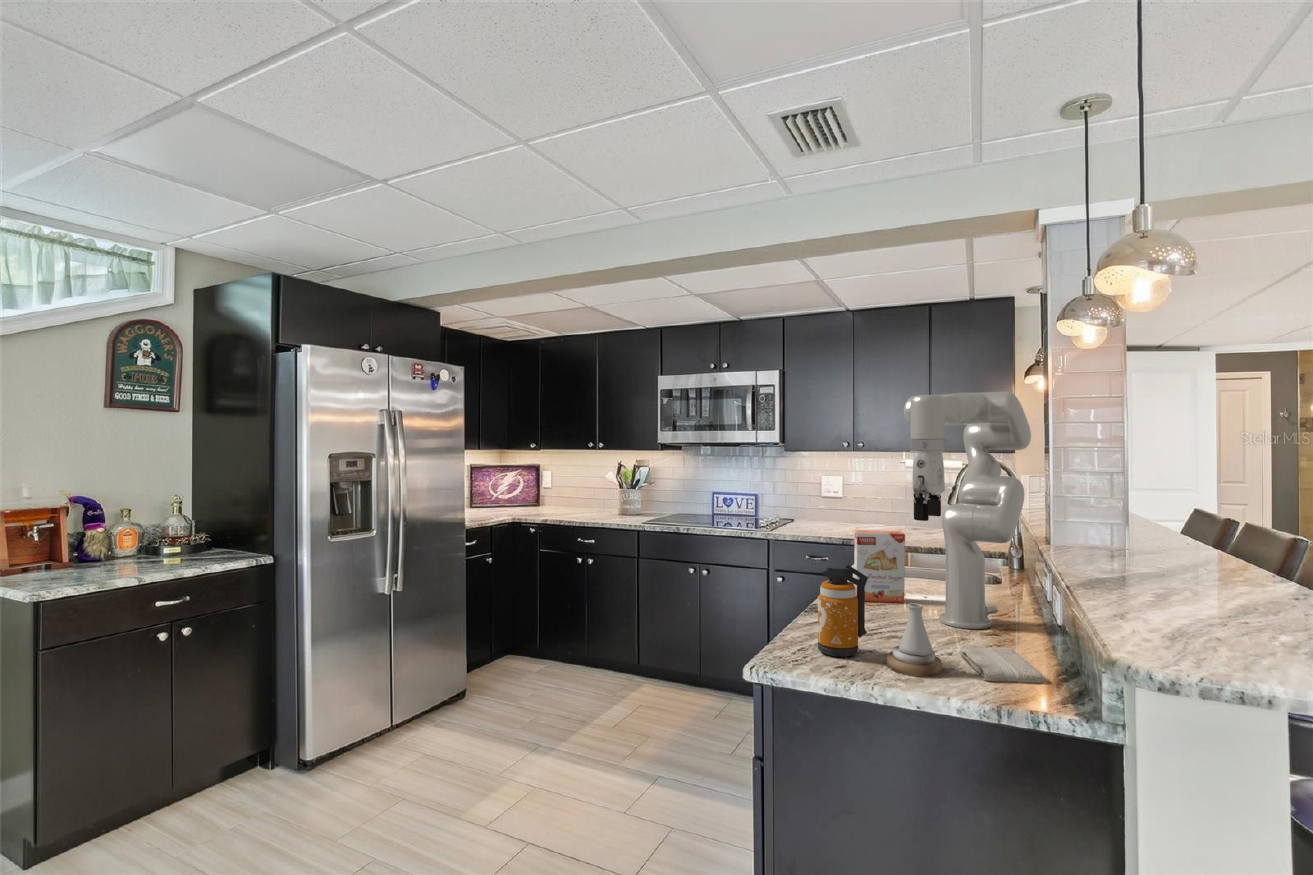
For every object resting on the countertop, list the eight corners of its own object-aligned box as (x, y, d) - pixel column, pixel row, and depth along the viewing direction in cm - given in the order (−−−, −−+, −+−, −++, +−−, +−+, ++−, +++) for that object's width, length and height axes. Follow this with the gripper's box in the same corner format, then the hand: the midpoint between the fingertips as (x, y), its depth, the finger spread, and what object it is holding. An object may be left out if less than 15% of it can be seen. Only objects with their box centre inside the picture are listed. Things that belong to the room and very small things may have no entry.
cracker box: (856, 601, 201) (856, 532, 201) (853, 596, 207) (853, 529, 207) (905, 603, 199) (905, 533, 199) (901, 598, 205) (901, 530, 205)
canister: (814, 646, 160) (814, 561, 159) (861, 646, 159) (861, 562, 159) (822, 658, 151) (822, 569, 150) (872, 659, 150) (872, 569, 150)
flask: (892, 652, 144) (892, 605, 144) (904, 643, 150) (904, 599, 150) (927, 659, 140) (927, 611, 140) (938, 650, 145) (938, 604, 145)
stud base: (915, 656, 152) (915, 641, 152) (953, 672, 142) (953, 656, 142) (875, 662, 148) (875, 646, 148) (911, 679, 138) (911, 662, 138)
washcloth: (1009, 657, 153) (1009, 643, 153) (1046, 686, 135) (1046, 671, 135) (955, 655, 154) (955, 642, 154) (984, 684, 136) (984, 669, 136)
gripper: (932, 447, 152) (932, 523, 152) (954, 445, 165) (954, 515, 165) (899, 447, 156) (899, 521, 157) (922, 445, 170) (922, 513, 170)
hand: (927, 518), depth 161 cm, fingers open, 9 cm apart
